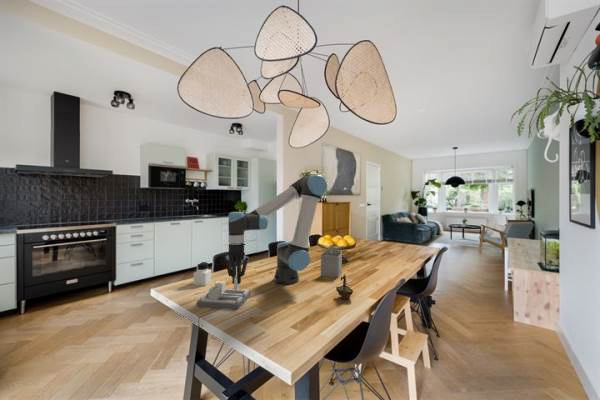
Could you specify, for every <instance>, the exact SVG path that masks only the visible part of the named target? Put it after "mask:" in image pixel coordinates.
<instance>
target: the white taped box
mask: <svg viewBox="0 0 600 400" xmlns="http://www.w3.org/2000/svg"><path fill="white" fill-rule="evenodd" d="M226 282H227V281H226V280H217V281H216V282H214V287H216V286H218V287H221V293H224V292H225V291H226V289H227V288H226V284H227V283H226Z"/></svg>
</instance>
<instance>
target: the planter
mask: <svg viewBox="0 0 600 400" xmlns="http://www.w3.org/2000/svg"><path fill="white" fill-rule="evenodd" d="M342 265H343V252H342V251H340V249H338V248H337V247H336V246H334V245H332V244H331V245H329V247H327V248H326V249H325V250H324V251H323V252H322V253H321V254H320V277H325V276H326V278H327V277H328V278H335V277H337V279H338V278H339V277H341V275H342V273H343V271H342V270H343V269H342V268H343V267H342Z"/></svg>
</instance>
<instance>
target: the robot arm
mask: <svg viewBox="0 0 600 400" xmlns="http://www.w3.org/2000/svg"><path fill="white" fill-rule="evenodd" d="M327 190H328V183H327V180H326V179H325V177H324V176H323V175H320V174H315V173H314V174H311V175H305V176H302V177H300V178H299V179H297V180H296V181H295V182H293V183H292V184H290V185H289V186H288V188H287V189H285V190H284V191H282V192H281V193H278V195H276V196H274V197H273V198H271V199H270V200H268V201H267V202H265V203H263V204H262V205H260V206H258V207H257V208H255V209H254V210H251V211H250V212H247V213H244V211H231V212H229V213H228V221H227V222H228V243H229V244H228V253H227V255H226V256H224V257H223V261H224V262H225V266H226V269H227V274H228V276H229V277H231V278H232V285H233V289H234V291H238V290H240V284H241V282H242V278H243V277H244V276H245V274H246V269H247V265H248V261H249V260H250V256H247V255H246V253H245V243H244V242H245V231H259V230H260V231H261V230H266V229H267V228H268V225H269V221H268V217H270V216H271V215H273V214H274V213H276V212H277V211H279V210H280V209H282V208H284V207H285V206H286V205H287V206H288V204H289V203H291V202H293V201H295V200H298V199H300V198H301V199H302V200H301V204H300V208H299V213H298V215H297V216H298V217H297V220H296V221H297V222H296V226H295V229H294V234H293V238H292V240H291V241H285V242H278V243H277V245H276V246H277V248H276V270H275V273H274V275H273V281H274V283H276V284H279V285H280V284H281V285H292V284H296V283H298V282H299V281H300V276H299V272H301V271H304V270H305V269H306V268H307V267H309V265H310V262H311V256H310V253H309V251H310V245H309V244H308V243H309V238H310V234H311V231H312V226H313V221H314V218H315V214H316V209H317V205H318V203H319V202H320V201H321V199H322V195H324V194H325V193H326V192H327ZM242 261H243V262H242Z"/></svg>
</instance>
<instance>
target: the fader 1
mask: <svg viewBox="0 0 600 400" xmlns="http://www.w3.org/2000/svg"><path fill="white" fill-rule="evenodd" d="M208 293H209V299H211V300H219V299H220V298H221V287H218V286H216V287H215V285H214V286H212V287H210V288H209V289H208Z"/></svg>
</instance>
